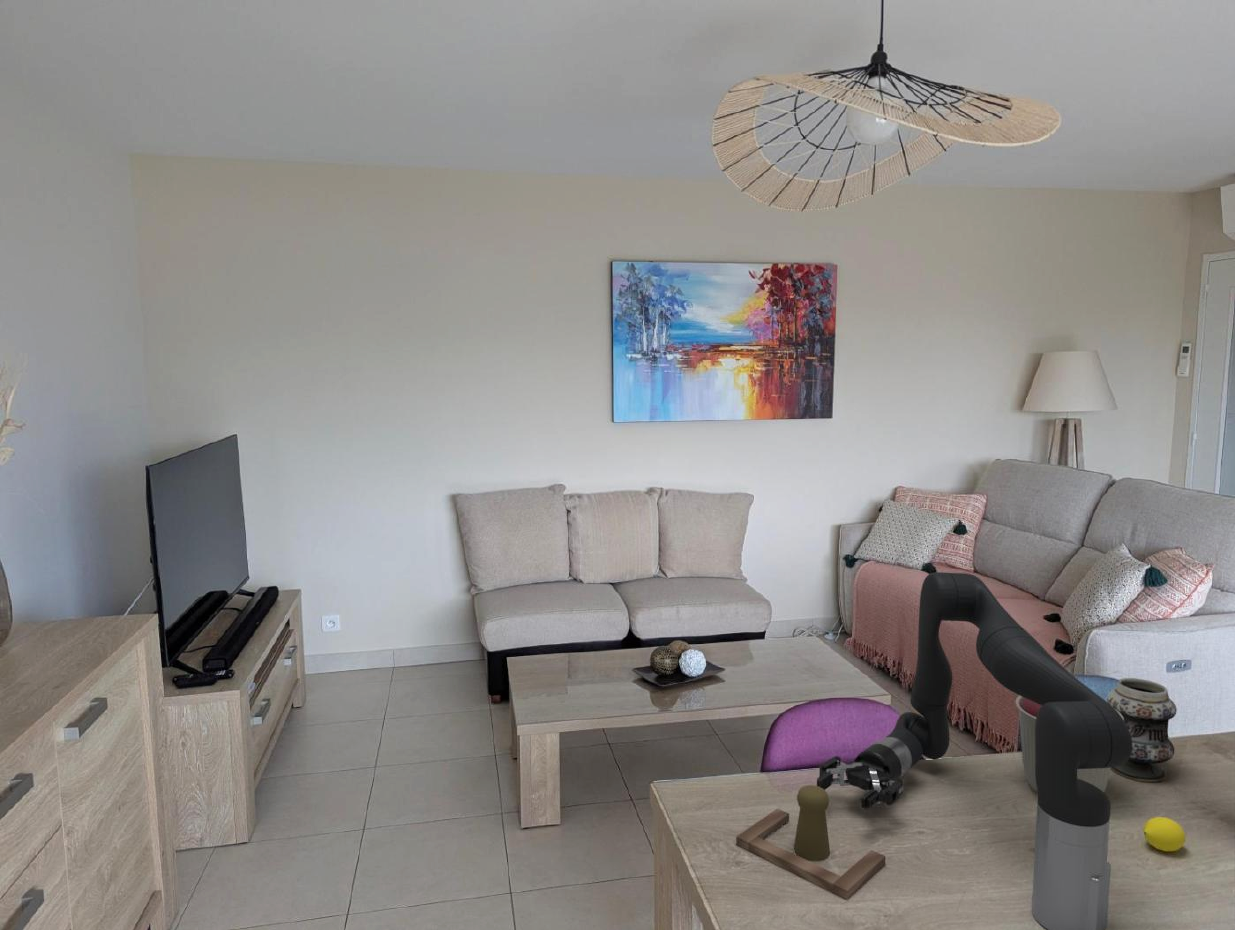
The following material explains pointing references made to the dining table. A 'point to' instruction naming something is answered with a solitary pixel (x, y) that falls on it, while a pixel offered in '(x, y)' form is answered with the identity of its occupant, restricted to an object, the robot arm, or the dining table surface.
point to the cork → (812, 824)
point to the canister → (1027, 727)
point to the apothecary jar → (1144, 727)
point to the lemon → (1164, 834)
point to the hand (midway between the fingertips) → (840, 795)
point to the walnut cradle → (803, 868)
